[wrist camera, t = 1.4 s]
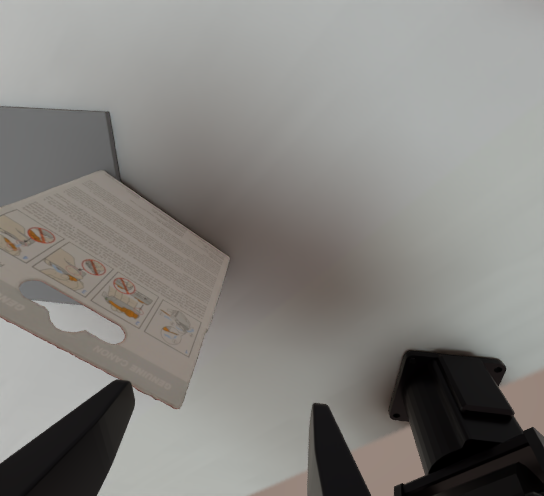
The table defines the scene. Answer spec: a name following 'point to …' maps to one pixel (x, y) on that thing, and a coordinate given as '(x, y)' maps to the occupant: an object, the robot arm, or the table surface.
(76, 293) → the ink box
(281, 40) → the table surface
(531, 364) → the table surface
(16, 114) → the slate mat
